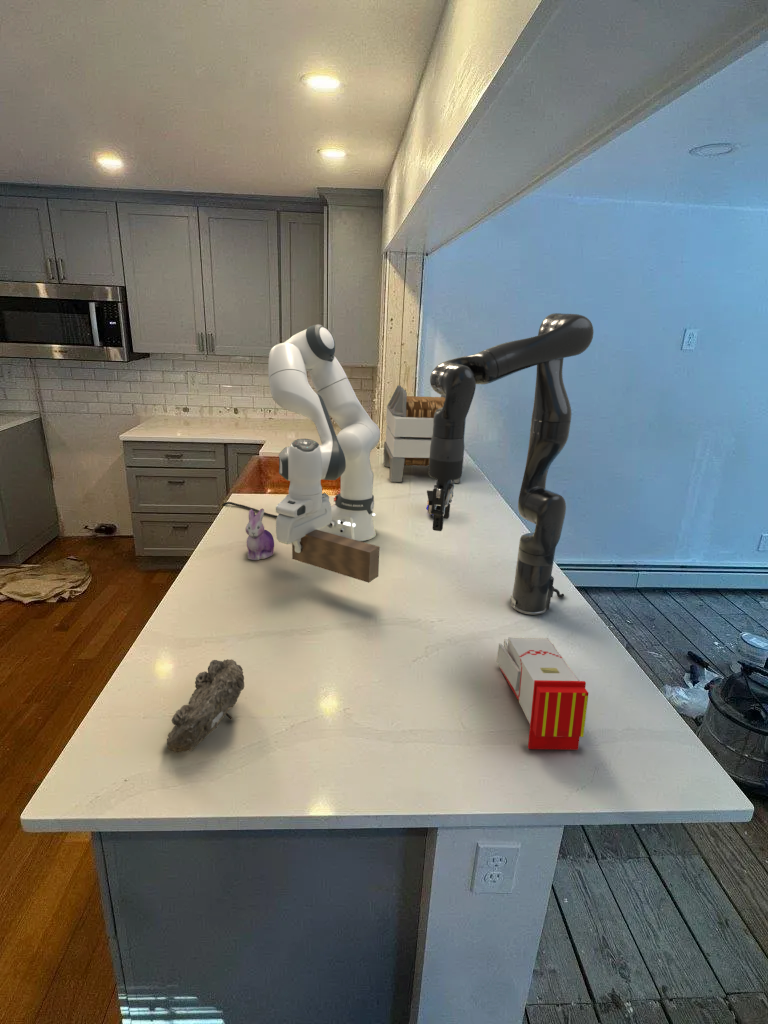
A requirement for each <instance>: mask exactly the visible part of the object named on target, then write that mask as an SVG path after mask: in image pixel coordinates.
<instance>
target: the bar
mask: <svg viewBox="0 0 768 1024" xmlns="http://www.w3.org/2000/svg"><path fill="white" fill-rule="evenodd" d="M300 545H302V546H303V551H302V552H300V553H297V552H295V546H294V545H293V543H291V550H292V551H291V553H292V554H291V556H292V558H291V560H293V561H297V562H300V563H304V564H307V565H310V566H313V567H317V568H320V569H323V570H327V571H328V572H329V571H330V572H333V573H336V574H339V575H342V576H346V577H349V578H352V579H356V580H359V581H361V582H364V583H367V584H370V583H371V582H373V581H374V580H375V579H376V578H379V571H380V569H379V568H380V546H379V545H376V544H372V543H367V542H365V541H357V540H353V539H350V538H346V537H342V536H338V535H335V534H331V533H327V532H324V531H320V530H314V531H312V532H310V533H308V534H306V535H305V536H304V537H302V538H301V541H300Z"/></svg>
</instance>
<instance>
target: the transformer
mask: <svg viewBox="0 0 768 1024" xmlns="http://www.w3.org/2000/svg"><path fill="white" fill-rule="evenodd" d="M407 394H408V393H407V390H406V389H404V388H403V387H402V385H399V384H398V385H397V386H396V388H395V390H394V392H393V394H392V395H391V398H390V400H389V402H388V404H387V405H386V413H385V414H386V415H385V423H386V428H385V438H384V442H383V466H384V467H388V468H389V475H388V476H389V477H388V478H389V480H390V482H391V483H402V482H403V475H404V469H405V466H406V467H407V466H411V467H412V466H413V467H415V466H416V467H417V466H418V467H429V457H430V445H431V440H432V433H433V419H434V414H435V411H436V410H437V409H439V408H443V406H444V402H445V398H446V396H444V395H440V396H415V395H414V396H413V395H412V396H411V395H407ZM455 483H456V484H459V483H461V478H460V479H457V480H454V484H455Z"/></svg>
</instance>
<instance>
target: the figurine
mask: <svg viewBox="0 0 768 1024" xmlns="http://www.w3.org/2000/svg"><path fill="white" fill-rule="evenodd" d="M258 510H259V512H256V513H255V511H253V510H252V509H251V510H250V509H249V510H248V522H247V524H246V526H245V533H246V534H247V538H246V542H245V543H246V548H247V550H248V551H247V559H248V560H252V561H259V560H265V559H267V558H270V557H272V556H273V555H274V552H275V551H274V550H275V540H274V536H273V534H272V533H271V532H270V531H269V530H268V529H265V526H264V523H263V519H264V516H265V515H264V512H265V509H264V508H260V509H258Z"/></svg>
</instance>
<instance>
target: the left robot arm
mask: <svg viewBox="0 0 768 1024" xmlns="http://www.w3.org/2000/svg"><path fill="white" fill-rule="evenodd" d="M335 353H336V342H335V338H334V336H333V333H332V332H331V331H330V330H329V329H328V328H327V327H326V326H324V325H322V324H320V323H319V324H313V325H310V326H308V327H307V328H305V329H304V330H301V331H299V332H297V333H295V334H293V335H292V336H291V337H290V338H288V339H287V340H285V341H284V342H280V343H277V344H275V345H274V346H272V347H271V349H270V350H269V353H268V363H267V373H268V375H267V377H268V384H269V391H270V394H271V398H272V400H273V401H274V402H275V404H277V405H278V406H279V407H281V408H282V409H284V410H286V411H287V412H291V413H294V414H298V415H301V416H302V417H303V416H304V417H306V418H308V419H309V420H311V422H313V423H314V425H315V427H316V431H317V434H318V436H319V440H320V443H321V444H319V442H317V441H316V440H314V439H310V438H298V439H295V440H293V441H291V442H290V445H289V446H285V447H284V448H283V449H282V450H281V451H280V452H279V453H278V474H279V476H281V477H282V478H283V479H285V480H286V481H289V487H288V494H286V496H285V497H284V498H283V499H282V500H281V501H279V503H277V505H276V506H275V512H276V513H277V514H278V515H277V514H271V513H268V512H265V511H264V515H263V516H267V517H271V518H276V519H275V536H276V540H277V541H278V542H279V543H281V544H284V545H290V544H292V543H293V545H294V546H295V552H297V553H300V552H302V551H303V546H302V545H300V541H301V538H302V537H304V536H305V535H306V534H308V533H310V532H312V531H314V530H320V531H324V532H327V533H331V534H335V535H338V536H342V537H346V538H350V539H353V540H357V541H361V542H365V541H368V540H372V539H373V538H375V537H376V535H377V532H376V528H375V523H374V517H375V516H376V513H373V512H374V509H375V496H374V472H373V470H372V469H373V468H372V464H371V451H373V450H374V449H376V447H377V446H378V445H379V441H380V439H381V430H380V427H379V426H378V425H377V423H376V422H375V421H373V420H372V418H371V417H370V415H369V414H368V412H367V411H366V409H365V408H364V406H363V405H362V404H361V402H360V400H359V399H358V397H357V394H356V392H355V391H354V388H353V387H352V384H351V382H350V380H349V378H348V375H347V374H346V372H345V370H344V368H343V366H342V364H341V363H340V362H339V360H338V358H337V357H336V355H335ZM307 373H308V374H309V376H310V379H311V382H312V385H313V387H314V389H313V387H311V384H310V383H309V380H308V374H307ZM332 420H333V421H334V422H335V424H336V425H337V426H338V428H339V429H340V431H339V432H338V433H337V434H336V431H335V428H334V425H333V422H332ZM339 478H340V488H339V489H340V490H339V491H338V492H337V494H336V495H335V496H334V497H333V502H334V504H333V505H331V504H332V503H331V502H330V496H329V495H328V494H327V493H326V492H323V486H322V483H321V482H322V480H324V481H336V480H337V479H339ZM226 505H232V506H236V507H239V508H244V509H247V510H249V511H250V510H251V509H252V510H253V511H254V512H256V513H258V512H259V510H260V509H258V508H257V509H256V508H254V507H250V506H248V505H244V504H240V503H235V502H232V501H226V502H223V504H222V506H223V507H224V506H226Z"/></svg>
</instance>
